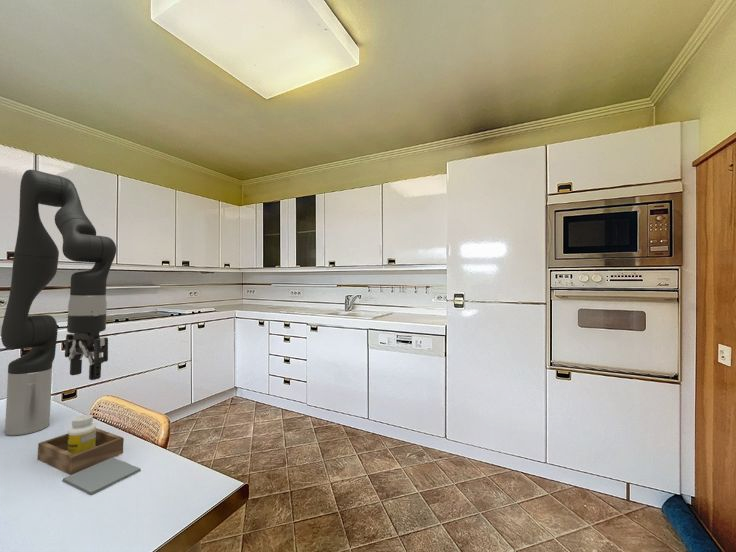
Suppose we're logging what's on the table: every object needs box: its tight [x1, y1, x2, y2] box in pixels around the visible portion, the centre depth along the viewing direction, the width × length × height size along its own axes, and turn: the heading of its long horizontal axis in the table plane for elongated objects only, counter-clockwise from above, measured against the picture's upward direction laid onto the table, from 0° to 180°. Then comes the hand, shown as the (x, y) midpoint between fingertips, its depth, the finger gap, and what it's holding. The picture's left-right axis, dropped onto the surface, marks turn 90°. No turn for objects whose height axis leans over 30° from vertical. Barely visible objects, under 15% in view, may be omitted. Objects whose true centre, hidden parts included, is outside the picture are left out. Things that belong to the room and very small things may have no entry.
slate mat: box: [62, 457, 141, 496], centre depth 76 cm, size 11×10×1 cm
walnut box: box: [36, 427, 125, 476], centre depth 84 cm, size 15×11×4 cm
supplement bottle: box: [67, 414, 97, 455], centre depth 84 cm, size 5×5×10 cm
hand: (85, 376), depth 84 cm, fingers open, 8 cm apart
